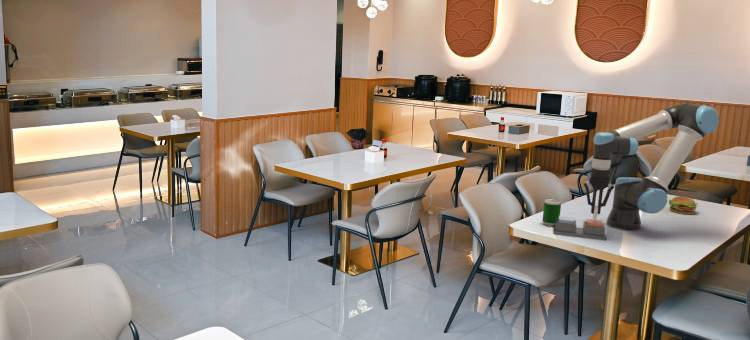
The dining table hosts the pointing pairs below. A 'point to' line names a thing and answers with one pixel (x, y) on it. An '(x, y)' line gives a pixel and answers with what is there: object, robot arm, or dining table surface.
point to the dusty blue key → (566, 220)
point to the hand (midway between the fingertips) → (594, 220)
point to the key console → (579, 230)
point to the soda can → (551, 211)
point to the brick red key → (594, 223)
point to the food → (682, 205)
